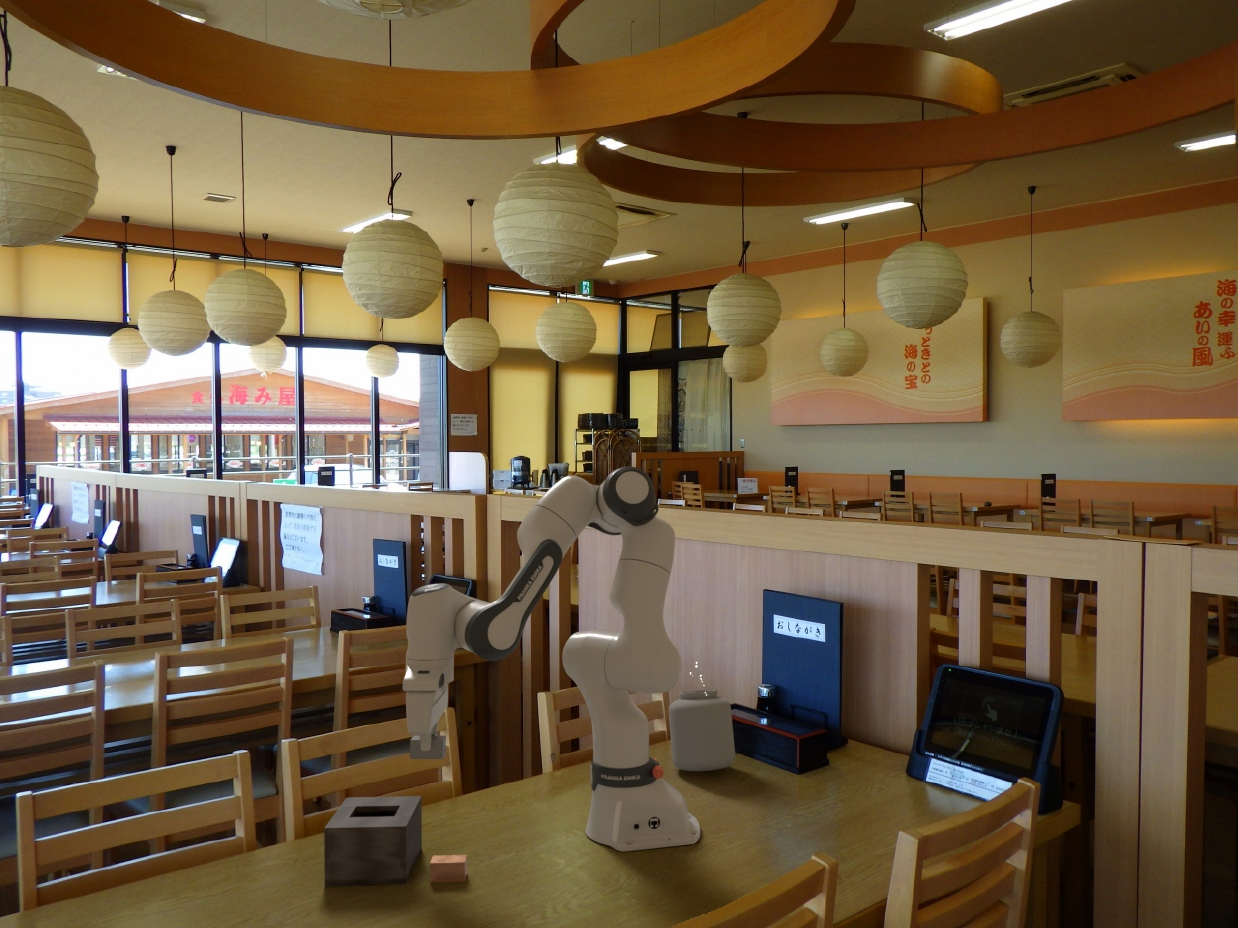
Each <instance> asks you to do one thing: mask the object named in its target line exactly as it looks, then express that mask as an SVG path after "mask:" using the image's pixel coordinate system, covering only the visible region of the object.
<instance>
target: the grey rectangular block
mask: <svg viewBox="0 0 1238 928" xmlns="http://www.w3.org/2000/svg"><path fill="white" fill-rule="evenodd" d="M431 739H432V747H431V749H430V750H429V751H422V750H421V740H420V736H419V735H412V737H411V739H410V740H409V741H410V742H409V743H410V744H409V745H410V746H409V748H410V751H409V756H410V757H409V760H443V759H444V758H445V756H446V753H447V752H446V751H447V735H437V736H431Z"/></svg>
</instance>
